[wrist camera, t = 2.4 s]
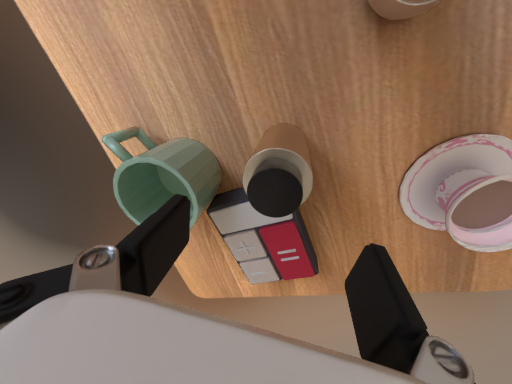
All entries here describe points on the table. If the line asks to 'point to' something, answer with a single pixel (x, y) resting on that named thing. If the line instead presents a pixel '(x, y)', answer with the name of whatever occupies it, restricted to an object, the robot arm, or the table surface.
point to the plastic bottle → (401, 8)
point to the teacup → (464, 191)
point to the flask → (279, 172)
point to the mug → (162, 174)
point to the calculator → (263, 240)
